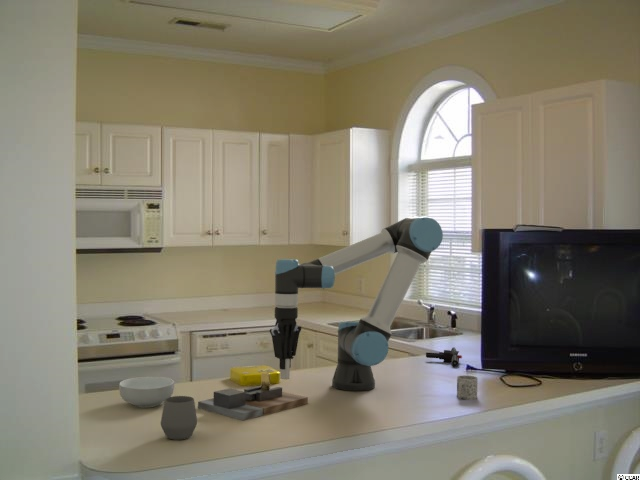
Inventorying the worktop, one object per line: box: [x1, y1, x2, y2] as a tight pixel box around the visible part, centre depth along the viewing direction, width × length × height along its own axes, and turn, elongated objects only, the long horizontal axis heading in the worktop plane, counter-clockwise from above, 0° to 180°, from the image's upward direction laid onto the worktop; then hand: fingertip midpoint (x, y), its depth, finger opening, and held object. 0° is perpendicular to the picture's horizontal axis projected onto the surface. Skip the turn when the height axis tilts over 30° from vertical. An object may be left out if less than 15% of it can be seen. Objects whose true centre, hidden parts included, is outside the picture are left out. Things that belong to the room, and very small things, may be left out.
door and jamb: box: [197, 391, 309, 421], centre depth 221 cm, size 28×20×2 cm
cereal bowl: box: [118, 376, 175, 408], centre depth 221 cm, size 17×17×7 cm
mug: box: [456, 374, 478, 400], centre depth 237 cm, size 10×7×7 cm, turn 145°
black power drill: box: [425, 347, 463, 368], centre depth 302 cm, size 5×20×15 cm
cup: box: [160, 395, 198, 441], centre depth 187 cm, size 10×9×10 cm
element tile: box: [229, 364, 281, 387], centre depth 259 cm, size 15×15×5 cm
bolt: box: [245, 373, 271, 401], centre depth 223 cm, size 10×3×7 cm, turn 139°
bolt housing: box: [213, 385, 283, 409], centre depth 220 cm, size 22×7×4 cm, turn 139°
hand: (284, 378), depth 232 cm, fingers closed
